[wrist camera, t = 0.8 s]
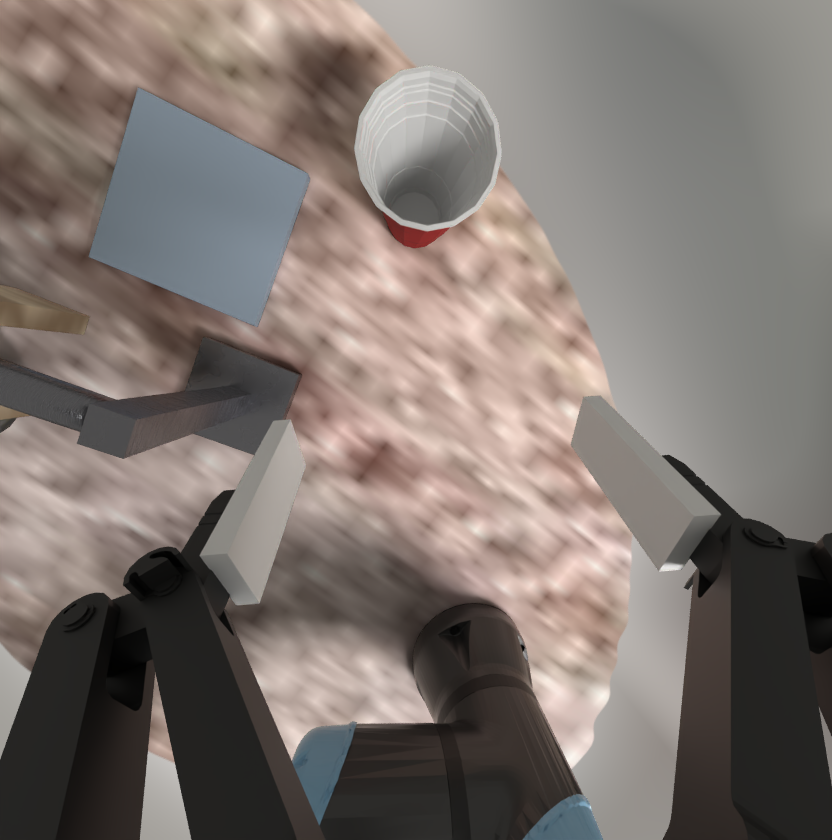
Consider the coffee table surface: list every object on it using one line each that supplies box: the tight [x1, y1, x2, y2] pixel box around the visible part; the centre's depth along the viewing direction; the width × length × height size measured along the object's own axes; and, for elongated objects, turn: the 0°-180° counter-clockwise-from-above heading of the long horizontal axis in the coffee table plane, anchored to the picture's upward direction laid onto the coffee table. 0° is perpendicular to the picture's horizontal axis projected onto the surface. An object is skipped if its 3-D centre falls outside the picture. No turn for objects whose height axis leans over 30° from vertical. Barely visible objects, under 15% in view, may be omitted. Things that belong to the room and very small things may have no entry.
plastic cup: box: [354, 65, 502, 248], centre depth 29 cm, size 11×11×12 cm
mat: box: [89, 87, 310, 327], centre depth 33 cm, size 16×16×1 cm
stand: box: [0, 337, 302, 459], centre depth 26 cm, size 10×22×18 cm, turn 67°
